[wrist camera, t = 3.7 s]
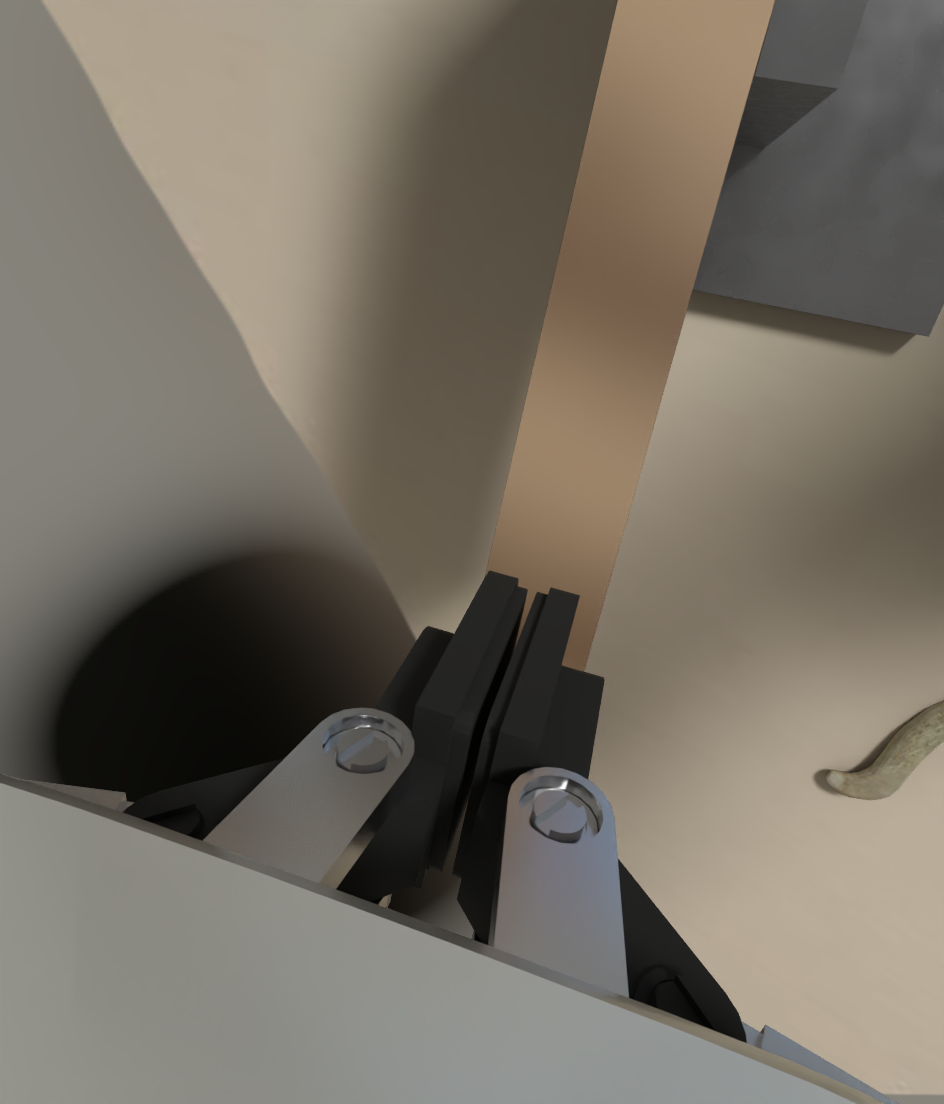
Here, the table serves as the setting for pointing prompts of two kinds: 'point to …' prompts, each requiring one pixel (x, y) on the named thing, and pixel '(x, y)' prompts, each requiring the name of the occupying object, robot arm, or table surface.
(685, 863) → the table surface
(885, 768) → the decorative wall piece
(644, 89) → the picture frame
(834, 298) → the frame stand
